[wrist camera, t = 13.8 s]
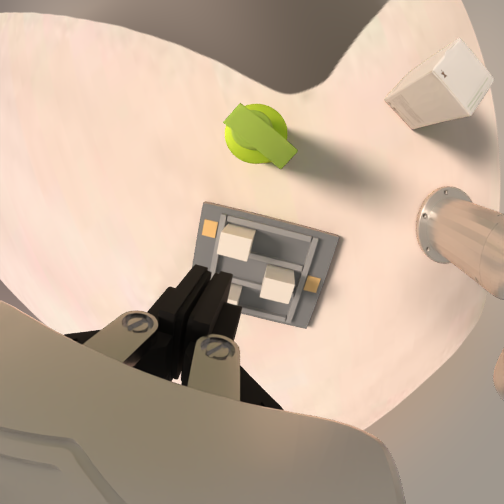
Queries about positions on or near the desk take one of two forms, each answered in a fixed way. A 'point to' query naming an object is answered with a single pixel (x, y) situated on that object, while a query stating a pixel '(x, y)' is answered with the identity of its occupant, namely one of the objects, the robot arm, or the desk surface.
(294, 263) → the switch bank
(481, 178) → the desk surface
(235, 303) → the tab
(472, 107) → the skincare box
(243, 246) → the tab
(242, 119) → the soap dispenser
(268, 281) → the tab
